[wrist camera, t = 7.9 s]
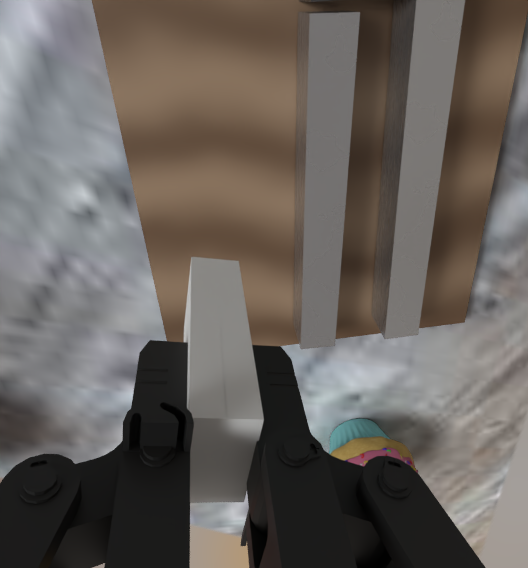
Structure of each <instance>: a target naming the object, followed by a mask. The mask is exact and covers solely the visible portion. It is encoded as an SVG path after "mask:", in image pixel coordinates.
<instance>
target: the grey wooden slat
mask: <svg viewBox="0 0 528 568" xmlns="http://www.w3.org/2000/svg"><path fill="white" fill-rule="evenodd" d="M359 21H360V12H354V11H307V12H298V39H297V105H296V171H295V236H294V302H293V324H294V328H295V331H296V335H297V338H298V341H299V345H300V348H301V349H307V348H318V347H328V346H335V338H336V325H337V311H338V298H339V285H340V272H341V259H342V245H343V232H344V219H345V206H346V193H347V179H348V166H349V153H350V140H351V127H352V113H353V100H354V87H355V74H356V61H357V47H358V34H359Z"/></svg>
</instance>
